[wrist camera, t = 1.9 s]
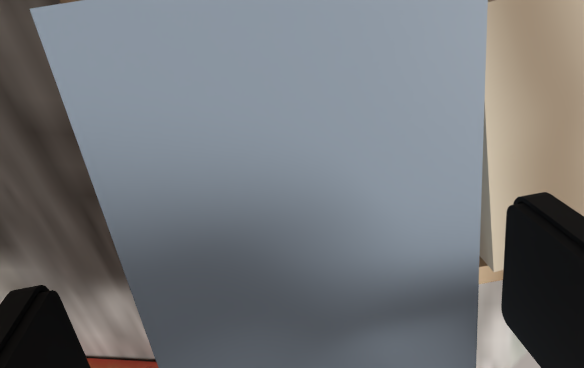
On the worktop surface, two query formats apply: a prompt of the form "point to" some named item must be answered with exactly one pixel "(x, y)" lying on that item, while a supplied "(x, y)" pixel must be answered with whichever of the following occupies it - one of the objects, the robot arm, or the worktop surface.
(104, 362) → the cracker box
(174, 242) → the grey-blue rectangular brick
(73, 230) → the worktop surface
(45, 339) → the robot arm
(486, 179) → the offcut upper
